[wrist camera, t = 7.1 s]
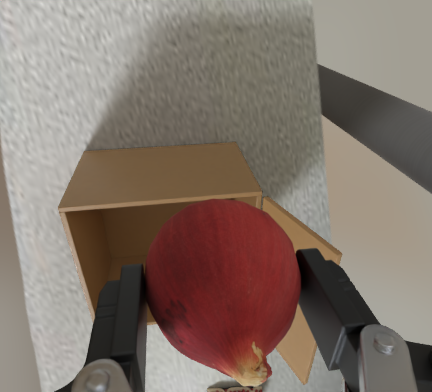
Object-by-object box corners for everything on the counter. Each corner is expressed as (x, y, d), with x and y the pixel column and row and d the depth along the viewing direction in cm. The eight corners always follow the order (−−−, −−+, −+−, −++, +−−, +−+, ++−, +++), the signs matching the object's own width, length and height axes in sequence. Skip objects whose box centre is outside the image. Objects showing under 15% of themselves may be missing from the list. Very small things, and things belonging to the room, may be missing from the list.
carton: (235, 141, 33) (262, 191, 25) (232, 246, 40) (251, 311, 32) (83, 150, 31) (57, 207, 23) (108, 258, 38) (95, 332, 30)
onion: (202, 280, 18) (228, 455, 11) (120, 219, 15) (88, 404, 8) (289, 218, 16) (381, 374, 10) (218, 138, 14) (276, 279, 7)
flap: (263, 197, 24) (267, 195, 24) (252, 317, 31) (255, 316, 31) (337, 255, 19) (342, 253, 19) (303, 385, 26) (307, 383, 26)
